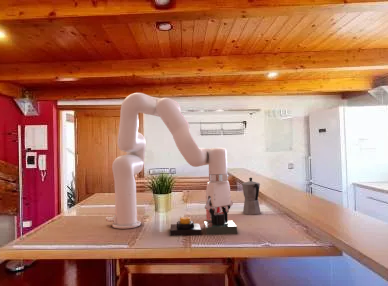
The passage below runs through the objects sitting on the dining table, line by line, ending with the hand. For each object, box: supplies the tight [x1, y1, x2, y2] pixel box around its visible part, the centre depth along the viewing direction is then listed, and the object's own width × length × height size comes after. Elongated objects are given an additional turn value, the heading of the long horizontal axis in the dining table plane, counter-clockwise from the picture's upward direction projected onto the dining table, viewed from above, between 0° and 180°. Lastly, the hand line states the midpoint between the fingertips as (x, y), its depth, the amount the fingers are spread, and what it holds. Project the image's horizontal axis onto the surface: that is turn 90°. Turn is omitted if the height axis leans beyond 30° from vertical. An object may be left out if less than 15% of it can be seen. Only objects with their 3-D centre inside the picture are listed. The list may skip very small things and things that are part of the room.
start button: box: [179, 216, 191, 224], centre depth 130 cm, size 4×4×2 cm
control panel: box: [203, 220, 238, 236], centre depth 130 cm, size 12×10×3 cm
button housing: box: [169, 220, 202, 237], centre depth 130 cm, size 12×10×4 cm
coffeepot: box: [241, 177, 261, 216], centre depth 162 cm, size 15×9×18 cm, turn 9°
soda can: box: [205, 206, 222, 221], centre depth 149 cm, size 7×7×13 cm
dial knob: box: [216, 212, 225, 225], centre depth 130 cm, size 4×4×4 cm
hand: (219, 222), depth 130 cm, fingers closed on dial knob, 4 cm apart
